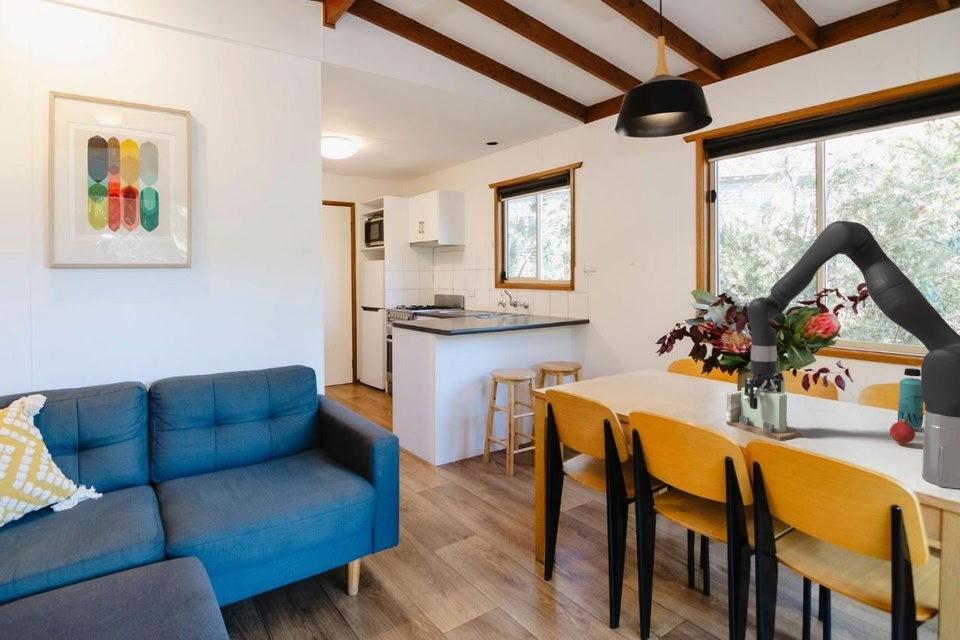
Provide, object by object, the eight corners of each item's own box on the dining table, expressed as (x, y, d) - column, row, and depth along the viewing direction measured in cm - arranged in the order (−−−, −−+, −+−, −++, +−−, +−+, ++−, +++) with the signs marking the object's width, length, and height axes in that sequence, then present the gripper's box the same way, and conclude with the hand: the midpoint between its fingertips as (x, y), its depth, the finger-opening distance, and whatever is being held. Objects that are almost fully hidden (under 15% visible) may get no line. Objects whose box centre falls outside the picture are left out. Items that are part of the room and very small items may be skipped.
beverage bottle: (892, 428, 169) (894, 368, 168) (904, 425, 172) (907, 366, 170) (915, 433, 163) (917, 371, 161) (927, 430, 166) (930, 369, 164)
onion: (889, 440, 157) (890, 415, 156) (914, 444, 153) (915, 417, 153) (889, 445, 152) (890, 419, 152) (914, 449, 149) (915, 422, 148)
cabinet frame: (801, 436, 164) (802, 401, 163) (779, 440, 160) (780, 405, 159) (747, 420, 182) (747, 389, 181) (726, 424, 178) (726, 392, 177)
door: (786, 431, 165) (786, 394, 164) (776, 433, 163) (777, 396, 163) (748, 420, 178) (748, 386, 177) (738, 422, 176) (739, 388, 175)
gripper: (768, 355, 175) (767, 402, 177) (738, 359, 170) (737, 407, 171) (789, 358, 168) (788, 406, 170) (758, 362, 163) (757, 412, 164)
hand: (762, 407), depth 170 cm, fingers open, 8 cm apart
